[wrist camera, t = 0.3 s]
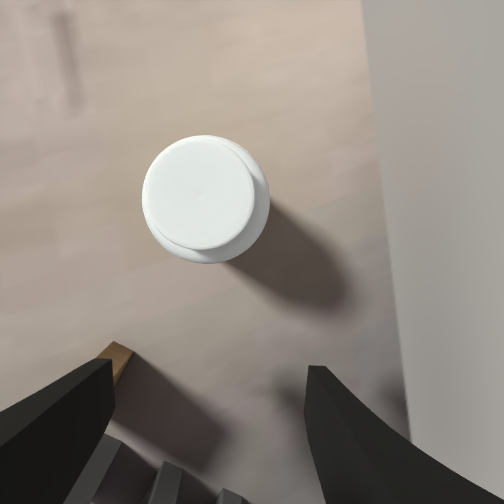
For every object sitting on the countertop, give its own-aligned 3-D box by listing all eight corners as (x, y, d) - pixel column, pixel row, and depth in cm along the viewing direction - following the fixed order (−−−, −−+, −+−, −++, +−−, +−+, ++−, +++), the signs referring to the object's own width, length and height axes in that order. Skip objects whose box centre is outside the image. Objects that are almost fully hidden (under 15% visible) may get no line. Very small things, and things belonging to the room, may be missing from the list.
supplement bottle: (274, 211, 21) (310, 199, 11) (217, 265, 21) (199, 305, 11) (218, 151, 20) (200, 77, 10) (160, 207, 20) (84, 192, 10)
